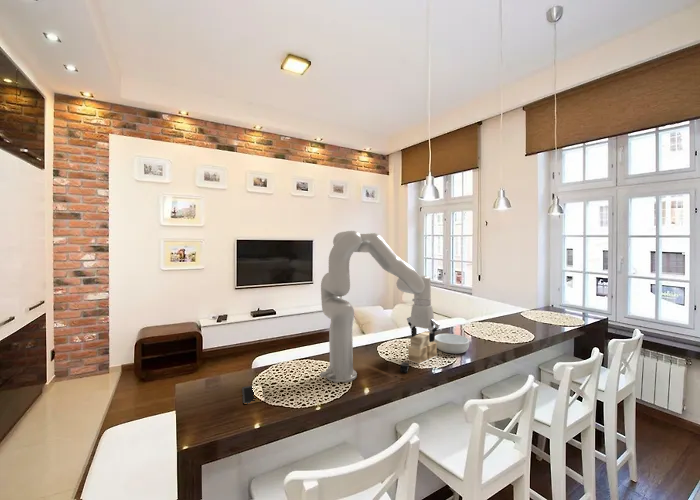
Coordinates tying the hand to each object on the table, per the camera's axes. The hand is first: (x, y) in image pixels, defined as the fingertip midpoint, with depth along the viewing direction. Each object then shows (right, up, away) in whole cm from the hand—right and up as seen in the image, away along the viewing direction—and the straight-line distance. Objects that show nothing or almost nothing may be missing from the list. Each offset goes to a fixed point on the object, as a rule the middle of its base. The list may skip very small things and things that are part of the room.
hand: (422, 339), depth 142 cm
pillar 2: (+3, -9, +3) cm, 10 cm away
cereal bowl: (+17, -10, +10) cm, 22 cm away
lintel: (0, -3, 0) cm, 3 cm away
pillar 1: (-3, -9, -3) cm, 10 cm away
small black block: (-11, -11, -15) cm, 21 cm away
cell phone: (-69, -12, -31) cm, 77 cm away
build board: (0, -10, 0) cm, 10 cm away
